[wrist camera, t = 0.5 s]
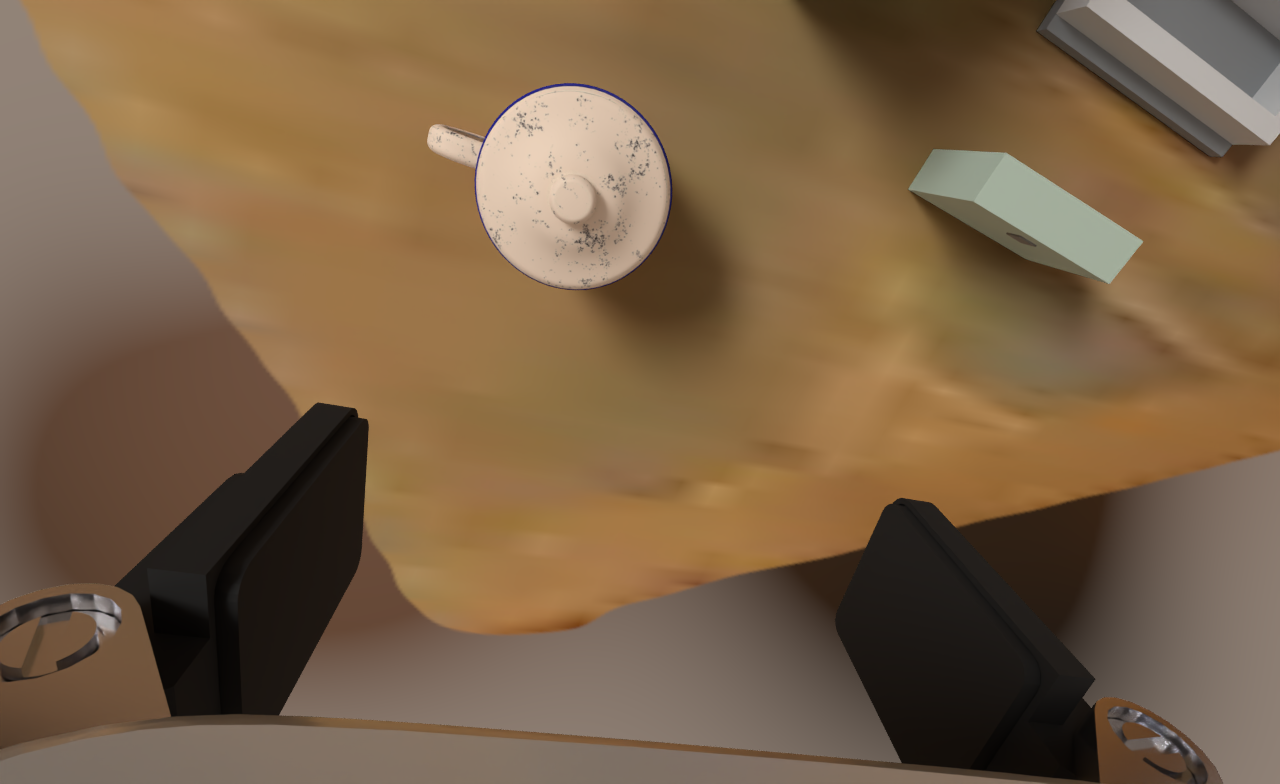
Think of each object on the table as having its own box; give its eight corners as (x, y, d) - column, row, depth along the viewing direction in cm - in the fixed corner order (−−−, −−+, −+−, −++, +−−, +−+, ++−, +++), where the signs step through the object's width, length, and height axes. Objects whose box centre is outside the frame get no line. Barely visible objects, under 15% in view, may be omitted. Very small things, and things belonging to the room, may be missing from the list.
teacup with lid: (676, 129, 34) (714, 127, 24) (626, 276, 38) (639, 333, 27) (471, 48, 32) (411, 6, 21) (436, 212, 35) (368, 247, 25)
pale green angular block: (933, 147, 36) (1007, 150, 30) (1052, 221, 38) (1144, 239, 32) (906, 190, 37) (972, 203, 30) (1024, 260, 39) (1107, 285, 33)
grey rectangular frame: (1137, -127, 31) (1190, -152, 28) (1314, 25, 35) (1376, 16, 32) (1036, 30, 34) (1075, 22, 31) (1210, 156, 37) (1258, 158, 35)
